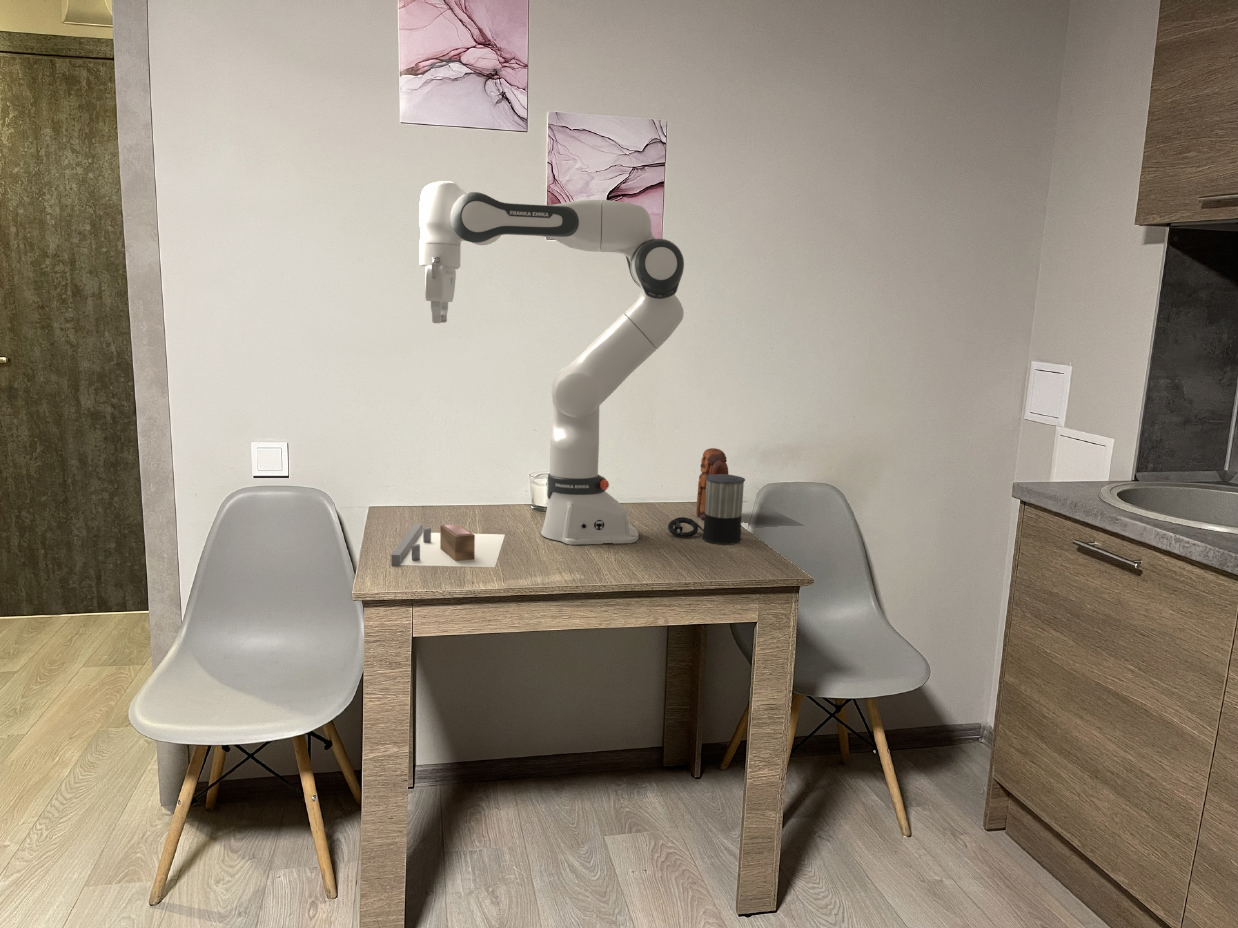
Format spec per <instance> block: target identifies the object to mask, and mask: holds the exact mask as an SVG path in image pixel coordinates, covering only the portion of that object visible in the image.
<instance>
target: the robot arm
mask: <svg viewBox="0 0 1238 928" xmlns="http://www.w3.org/2000/svg"><path fill="white" fill-rule="evenodd" d="M419 200H420V201H419V209H418V210H419V215H418V219H419V222H418V224H419V228H420V238H419V242H418V243H419V244H418V250H419V251H418V253H419V258H418V259H419V260H418V262H419V263H418V265H419V266H420V267H424V269H425V272H424V274H425V279H424V280H425V286H424V287H425V289H424V296H425V298H424V299H425V301H427V302H430V311H431V320H432V323H433V324H440V323H447V322H448V311H449V303H452V302H453V301H454V297H455V287H456V280H457V278H456V277H457V275H456V273H457V270H459V268H461V243H462V242H464V241H465V242H469V243H471V244H473V245H477V246H488V245H490V244H492V243H495V242H496V241H498V240H499V239H500V237H501V236H503V235H510V236H531V237H532V236H534V237H543V238H546V239H547V238H548V239H551V240H554V241H556V242H559V243H560V244H561V245H564V246H566V247H568V248H571V249H574V250H581V251H585V252H594V253H595V252H599V253H618V254H622V255H624V256H625V258H626V262H627V266H628V270H629V273H630V277H631V278H632V281H633V282H634V283H635V284H636V285H637V286H638V287H639V288H640V293H639V296H638V297H637V299H636V300H635V302H634V303H633V304H632V305H631V306H630V307H629V308H627V309H626V311H624V312H623V313H622V314H621V315H620V316H619V317H618V318H617V319H616V320H614V321H613V322H612V323H611V324H610V325H609V326H608V327H607V328H605V330H604V331H602V333H600V334H599V335H598V336H597V337H596V338H595V339H594V340H593V342H591V343H590V344H589V345H588V346H587V347H586V348H585V349H584V350H583V351H582V352H581V353H580V354H579V355H578V356H577V357H575V359H574V360H573V361H572V362H570V363H569V365H565V367H563V368H561V369H560V370H559V371H558V372H557V373H556V374H555V376H554V379H553V382H552V385H551V386H552V387H551V423H550V424H551V425H550V427H551V428H550V448H549V449H550V451H549V452H550V453H549V461H550V462H549V473H548V475H547V479H546V480H547V481H546V495H547V507H546V511H545V517H544V518H545V519H544V522H543V525H542V529H541V532H540V534H541V535H542V537H545V538H546V539H549V540H553V541H554V540H555V541H557V542H562V543H564V544H567V545H604V544H603V543H613V544H633V543H635V542H638V540H639V539H640V538H639V537H640V536H639V531H638V529H637V528H635V527H633V526H631V525H630V517H629V514H628V511H627V509H626V507H625V506H624V505H623V504H621V503H620V502H619V501H618V500H617V499H615V498H614V497H613V496H612V495H611V494H609V493H608V492H607V490H608V488H609V486H610V483H609V481H608V480H607V478H606V477H604V476H603V475H600V474H599V452H600V451H599V450H600V406H601V405H602V404H603V403H604V402H605V401H606V400H607V398H609V397H610V396H611V395H612V394H613V393H614V391H616V390H617V389H618V387H620V386H621V385H622V384H623V383H624V382H625V380H626V379H627V378H628V377H629V376H630V375H631V374H632V373H633V372H635V370H636V369H638V367H640V366H641V365H642V364H644V362H645V361H646V360H647V359H649V358H650V356H652V355H653V354H654V353H655V352H656V351H657V350H658V349H660V348H661V346H662V345H663V344H665V342H666V341H667V340H668V339H669V338H670V337H671V336H672V334H673V333H674V332H675V331H676V329H677V328H678V327H679V325H680V324H681V322H682V321H683V319H684V315H685V312H684V308H683V304H682V303H681V301H680V299H679V298H678V297H677V296H676V294H677V291H678V288H679V285H680V282H681V280H682V276H683V273H684V268H685V260H684V257H683V253H682V252H681V250H680V248H679V247H678V245H676V244H675V243H674V242H673V241H671V240H668V239H666V238H656V237H655V236H654V235H653V232H652V220H651V216H650V214H649V212H648V210H647V209H646V208H645V207H643V206H642V205H639V204H635V203H631V202H630V203H629V202H625V201H619V200H617V201H616V200H610V199H609V200H608V199H583V200H581V199H580V200H574V201H568V202H562V203H556V204H554V203H553V204H547V205H546V204H545V205H544V204H529V203H527V204H526V203H509V202H503V201H499V200H498V199H495V198H493V197H491V196H489V195H487V194H485V193H482V192H476V191H471V192H469V191H468V190H466V189H464V188H463V187H461V186H460V185H459V184H458V182H456V181H449V180H444V181H443V180H440V181H435V182H431V183H429V184H427V185H425V186H424V188H423V189H422V191H421V194H420V199H419Z"/></svg>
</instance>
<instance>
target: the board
mask: <svg viewBox="0 0 1238 928" xmlns="http://www.w3.org/2000/svg"><path fill="white" fill-rule="evenodd" d="M473 534H474V535H475V551H474V559H472V560H462V561H454V560H453V559H452V558H451V557H450V556H448V555H447V554H446V553H445V552H444V551H443V550H441V549H440V532H432V527H430V526H427V527H423V523H416V522H415V523H414V524H413V525H412V526H411V528H410V529H409V531H408V532H407V533H406V535H405V536H404V537H403V538H402V540H401V542H400V543H399V544H398V545H397V547H396V548H395V549H394V551H393V552H392V553H391V558H390V559H391V566H411V567H413V566H415V567H417V566H418V567H421V566H422V567H424V566H425V567H455V568H456V567H459V568H463V567H465V568H496V565H497V562H498V559H499V555H500V553H501V549H502V546H503V542H504V540H505V539H504V538H505V536H506V534H502V533H501V534H495V533H491V534H490V533H473Z"/></svg>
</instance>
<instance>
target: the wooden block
mask: <svg viewBox="0 0 1238 928" xmlns="http://www.w3.org/2000/svg"><path fill="white" fill-rule="evenodd" d="M439 533H440V549H441V550H443V551H444V552H445V553H446V554H447V555H448V556H450V557H451V558H452V559H453V560H454V561H462V560H472V559H474V551H475V535H474V534H475V533H472V532H471V531H470V530H468V529H467V528H466V527H464V526H463V525H461V524H460V523H453V524H451V523H450V524H443V525H440V530H439Z"/></svg>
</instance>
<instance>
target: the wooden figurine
mask: <svg viewBox="0 0 1238 928" xmlns="http://www.w3.org/2000/svg"><path fill="white" fill-rule="evenodd" d="M700 462H701V464H700V472H701V473H700V475H699V476H698V477H699V478H698V481H697V482H698V483H697V495H696V496H697V497H696V509H695V510H696V513H695V514H696V517H697V516H699V517H698V518H700V520H702V521H704V519H705V501H706V482H707V479H706V478H705V477H706V476H707V475H713V474H725V475H729V466H728V463H727V456H726V454H725V452H724V451H723V450H721V449H720V448H716V447H711V448H707V449H705V450H704V451H703V453H702V457H701V460H700Z"/></svg>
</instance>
